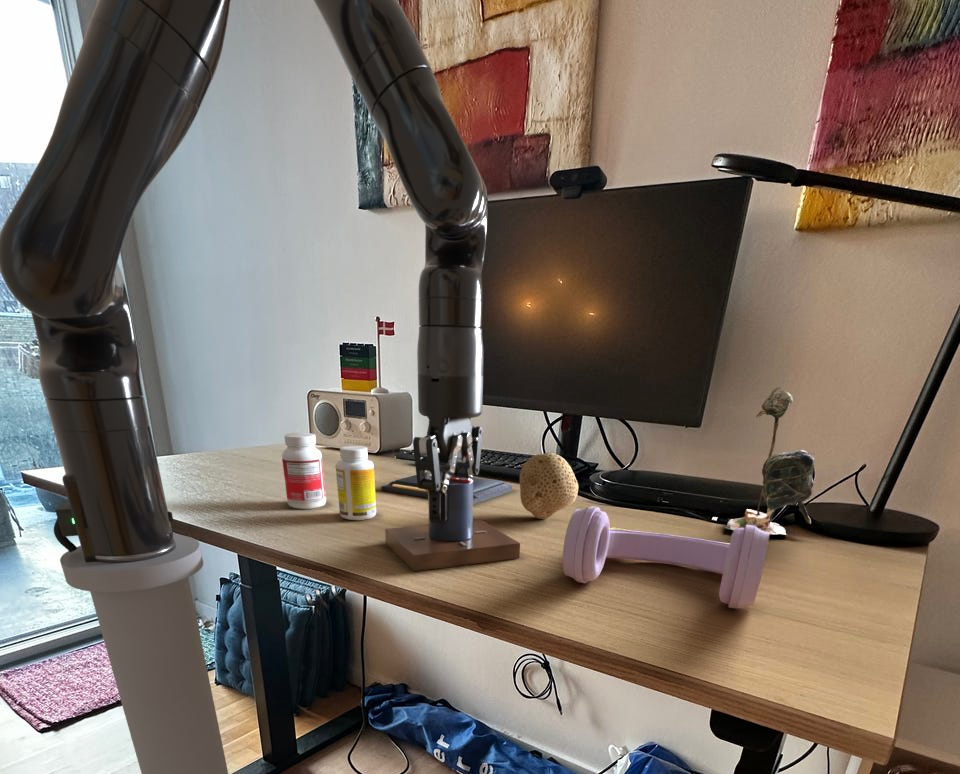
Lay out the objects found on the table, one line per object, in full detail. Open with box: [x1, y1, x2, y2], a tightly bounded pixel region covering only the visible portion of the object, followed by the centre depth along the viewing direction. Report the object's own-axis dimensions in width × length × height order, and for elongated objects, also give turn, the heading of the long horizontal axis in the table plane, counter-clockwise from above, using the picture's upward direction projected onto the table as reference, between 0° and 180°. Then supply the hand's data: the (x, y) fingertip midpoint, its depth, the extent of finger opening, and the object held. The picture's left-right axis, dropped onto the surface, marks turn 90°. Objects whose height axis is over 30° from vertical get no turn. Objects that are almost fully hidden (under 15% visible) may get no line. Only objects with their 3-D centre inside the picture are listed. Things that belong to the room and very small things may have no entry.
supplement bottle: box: [335, 445, 377, 521], centre depth 90 cm, size 6×6×10 cm
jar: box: [427, 476, 474, 542], centre depth 76 cm, size 6×6×7 cm
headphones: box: [562, 506, 770, 609], centre depth 69 cm, size 20×10×20 cm
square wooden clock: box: [384, 519, 521, 572], centre depth 78 cm, size 14×12×2 cm
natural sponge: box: [519, 452, 579, 520], centre depth 92 cm, size 9×9×10 cm
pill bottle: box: [281, 432, 327, 510], centre depth 96 cm, size 6×6×11 cm
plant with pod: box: [724, 386, 815, 536], centre depth 85 cm, size 8×11×20 cm
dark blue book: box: [380, 471, 513, 506], centre depth 110 cm, size 20×2×15 cm
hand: (450, 516), depth 76 cm, fingers closed on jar, 5 cm apart
